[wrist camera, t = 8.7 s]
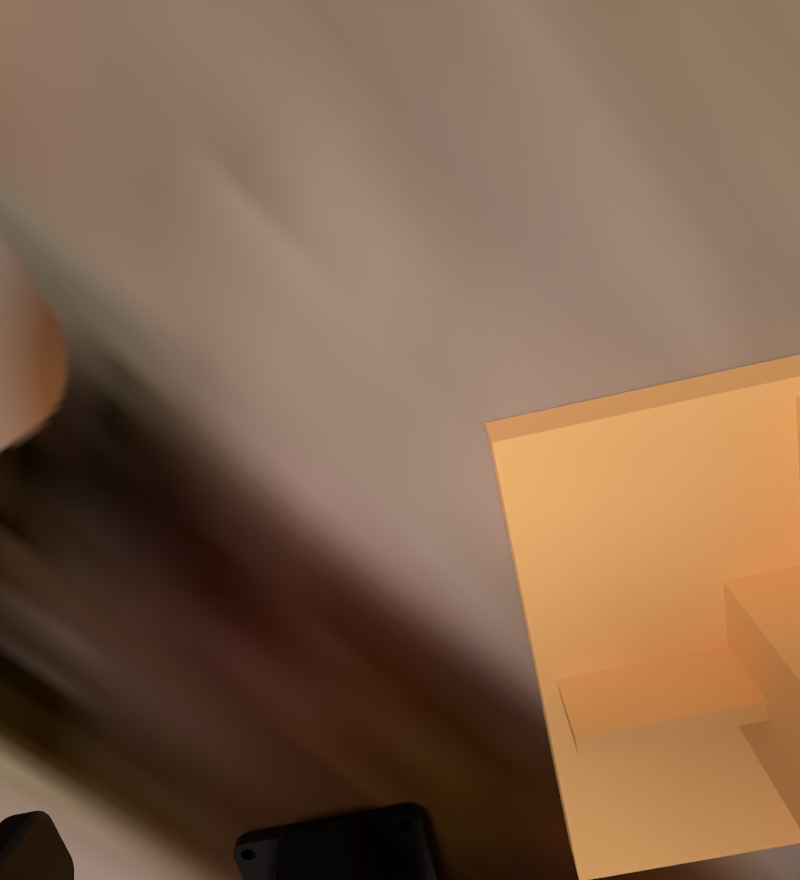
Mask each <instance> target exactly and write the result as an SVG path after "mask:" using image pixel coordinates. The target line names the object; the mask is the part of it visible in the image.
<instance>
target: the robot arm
mask: <svg viewBox="0 0 800 880" xmlns="http://www.w3.org/2000/svg"><path fill="white" fill-rule="evenodd" d="M404 820H408V821H409V822H403V821H404ZM247 849H250V850H247ZM233 854H234V858H235V861H236V863H237V866H238V868H239V870H240V873H241V875H242V878H243V880H439V876H438V873H437V869H436V866H435V863H434V859H433V856H432V852H431V849H430V845H429V842H428V839H427V835H426V832H425V828H424V825H423V821H422V818H421V815H420V812H419V811H418V809H416V808H415V807H413V806H409V805H402V806H397V807H391V808H386V809H380V810H375V811H369V812H364V813H358V814H353V815H347V816H342V817H337V818H331V819H326V820H320V821H315V822H309V823H304V824H298V825H293V826H287V827H282V828H276V829H271V830H266V831H260V832H255V833H249V834H245V835H242V836H240V837H239V838H238V839H237V841H236V844H235V848H234V853H233ZM0 880H74V866H73V861H72V858H71V856H70V854H69V852H68V850H67V848H66V846H65V844H64V842H63V840H62V839H61V837H60V835H59V833H58V831H57V829H56V827H55V825H54V823H53V821H52V819H51V818H50V816H49V815H48V814H46V813H45V812H43V811H33V812H28V813H23V814H17V815H13V816H10V817H8V818H6V819H4V820H3V821H2V822H1V823H0Z"/></svg>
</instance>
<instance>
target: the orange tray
mask: <svg viewBox="0 0 800 880" xmlns="http://www.w3.org/2000/svg"><path fill="white" fill-rule="evenodd" d="M485 425H486V430H487V435H488V440H489V445H490V450H491V455H492V460H493V465H494V470H495V475H496V480H497V485H498V490H499V495H500V500H501V504H502V509H503V514H504V519H505V524H506V529H507V534H508V539H509V544H510V549H511V554H512V559H513V564H514V569H515V574H516V579H517V584H518V589H519V594H520V599H521V604H522V609H523V614H524V619H525V624H526V629H527V634H528V639H529V644H530V649H531V653H532V658H533V663H534V668H535V673H536V678H537V683H538V688H539V693H540V698H541V703H542V708H543V713H544V718H545V723H546V728H547V733H548V738H549V743H550V748H551V753H552V758H553V763H554V768H555V773H556V778H557V783H558V788H559V793H560V798H561V803H562V807H563V812H564V817H565V822H566V827H567V832H568V837H569V842H570V846H571V850H572V854H573V858H574V862H575V866H576V870H577V874H578V877H579V880H591V879H597V878H602V877H608V876H614V875H620V874H625V873H631V872H637V871H643V870H649V869H654V868H660V867H666V866H672V865H677V864H683V863H689V862H695V861H701V860H706V859H712V858H718V857H724V856H730V855H735V854H741V853H747V852H753V851H758V850H764V849H770V848H776V847H782V846H787V845H793V844H799V843H800V354H799V355H795V356H790V357H786V358H781V359H777V360H772V361H767V362H763V363H758V364H754V365H749V366H744V367H740V368H735V369H731V370H726V371H722V372H717V373H712V374H708V375H703V376H699V377H694V378H689V379H685V380H680V381H676V382H671V383H666V384H662V385H657V386H653V387H648V388H644V389H639V390H634V391H630V392H625V393H621V394H616V395H611V396H607V397H602V398H598V399H593V400H589V401H584V402H579V403H575V404H570V405H566V406H561V407H556V408H552V409H547V410H543V411H538V412H534V413H529V414H524V415H520V416H515V417H511V418H506V419H501V420H497V421H492V422H488V423H485Z"/></svg>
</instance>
